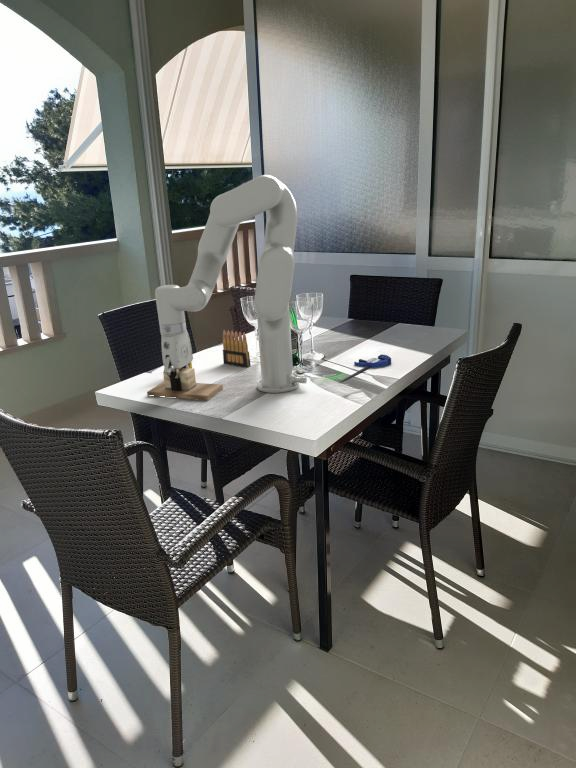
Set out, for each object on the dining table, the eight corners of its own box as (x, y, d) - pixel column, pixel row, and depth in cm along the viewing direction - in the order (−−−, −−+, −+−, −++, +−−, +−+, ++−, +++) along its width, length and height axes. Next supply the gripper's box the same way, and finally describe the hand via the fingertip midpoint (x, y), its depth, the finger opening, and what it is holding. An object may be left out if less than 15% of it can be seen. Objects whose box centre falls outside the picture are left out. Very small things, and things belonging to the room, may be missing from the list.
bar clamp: (368, 351, 204) (395, 355, 198) (368, 358, 205) (395, 362, 199) (312, 382, 181) (340, 388, 175) (312, 390, 182) (340, 396, 176)
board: (222, 389, 183) (222, 384, 182) (207, 400, 174) (207, 395, 174) (164, 385, 190) (164, 381, 189) (147, 396, 181) (147, 391, 180)
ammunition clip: (223, 363, 209) (220, 329, 205) (227, 362, 210) (223, 328, 206) (247, 367, 202) (244, 332, 199) (250, 366, 204) (247, 331, 200)
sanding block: (196, 385, 183) (194, 368, 181) (189, 390, 179) (186, 373, 177) (173, 384, 185) (170, 367, 183) (165, 389, 181) (163, 371, 180)
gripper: (169, 335, 167) (178, 398, 173) (198, 321, 182) (205, 379, 188) (146, 335, 170) (155, 396, 176) (176, 321, 185) (183, 378, 191)
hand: (181, 387), depth 182 cm, fingers closed on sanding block, 4 cm apart
